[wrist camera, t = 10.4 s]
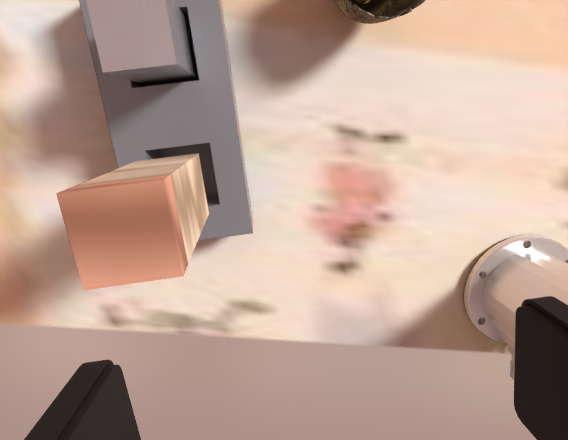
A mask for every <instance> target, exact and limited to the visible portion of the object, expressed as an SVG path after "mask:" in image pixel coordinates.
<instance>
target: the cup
mask: <svg viewBox="0 0 568 440" xmlns="http://www.w3.org/2000/svg"><path fill="white" fill-rule="evenodd" d="M335 1H336V3H337V5H338V7H339V8H340V10H341V11H342V12H343V13H344V14H345V15H346V16H348V17H349V18H351V19H352V20H355V21H357V22H361V23H368V24H371V23H379V22H383V21H387V20H390V19H393V18H396V17H398V16H402V15H405V14H407V13H409V12H411V11H412V9H414V8H416V7H417V6H419V5H421V4H422V3H423V2H424V1H425V0H364V1H363V2H361V3H358V2H356V1H355V0H335Z"/></svg>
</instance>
